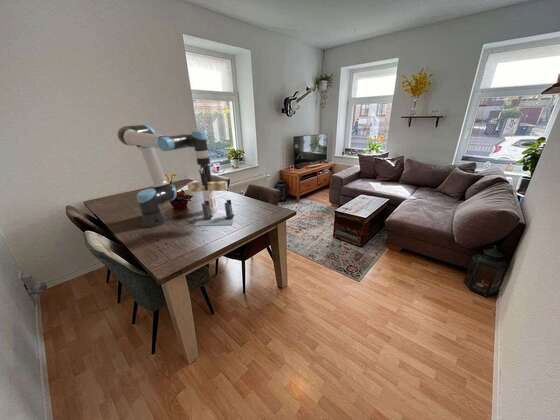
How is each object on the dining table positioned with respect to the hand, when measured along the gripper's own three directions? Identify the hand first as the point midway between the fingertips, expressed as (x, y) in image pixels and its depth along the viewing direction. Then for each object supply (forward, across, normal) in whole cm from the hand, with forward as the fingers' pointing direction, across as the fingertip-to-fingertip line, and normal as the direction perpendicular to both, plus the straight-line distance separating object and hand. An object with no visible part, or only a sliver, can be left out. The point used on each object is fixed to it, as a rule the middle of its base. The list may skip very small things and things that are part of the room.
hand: (209, 193), depth 144 cm
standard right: (+22, +9, -9) cm, 25 cm away
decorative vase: (+22, +21, +8) cm, 31 cm away
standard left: (+22, +9, +7) cm, 24 cm away
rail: (-2, 0, 0) cm, 2 cm away
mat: (+22, 0, 0) cm, 22 cm away
